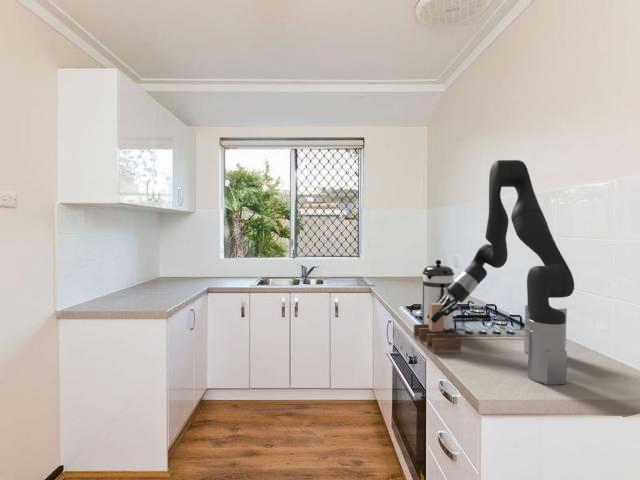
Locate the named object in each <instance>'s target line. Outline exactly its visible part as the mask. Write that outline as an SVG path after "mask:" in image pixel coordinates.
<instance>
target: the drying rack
mask: <svg viewBox="0 0 640 480" xmlns="http://www.w3.org/2000/svg"><path fill="white" fill-rule="evenodd" d="M413 338H414V339H415V340H417V341H418V342H419V343H420V344H422V346H424V347H425V348H426V349H428V351H430V352H431V353H432V354H455V353H456V354H457V353H459V354H460V353H461V352H462V338H461V337H455V334H454V333H452V332H451V333H450V332H449V333H446V330H445V328H444V327H443V331H430V330H429V324H422V323H421V324H420V323H418V324H413Z"/></svg>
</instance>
